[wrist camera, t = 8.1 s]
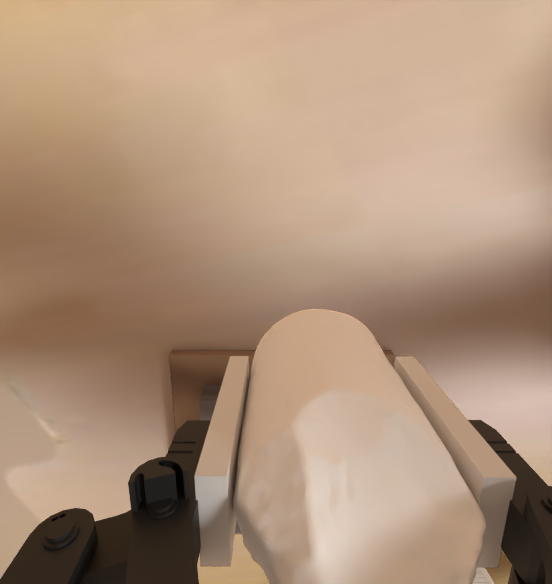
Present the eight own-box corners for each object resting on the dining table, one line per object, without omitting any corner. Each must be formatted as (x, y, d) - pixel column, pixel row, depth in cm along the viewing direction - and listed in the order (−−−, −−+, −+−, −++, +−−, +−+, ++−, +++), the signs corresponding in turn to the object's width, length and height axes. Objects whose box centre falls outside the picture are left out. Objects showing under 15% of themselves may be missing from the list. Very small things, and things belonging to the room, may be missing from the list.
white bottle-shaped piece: (652, 583, 4) (584, 844, 6) (380, 303, 16) (380, 413, 17) (167, 608, 5) (218, 858, 6) (246, 312, 16) (256, 421, 18)
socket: (172, 350, 33) (160, 368, 30) (390, 350, 33) (403, 367, 30) (186, 526, 38) (177, 558, 35) (375, 525, 38) (385, 556, 35)
